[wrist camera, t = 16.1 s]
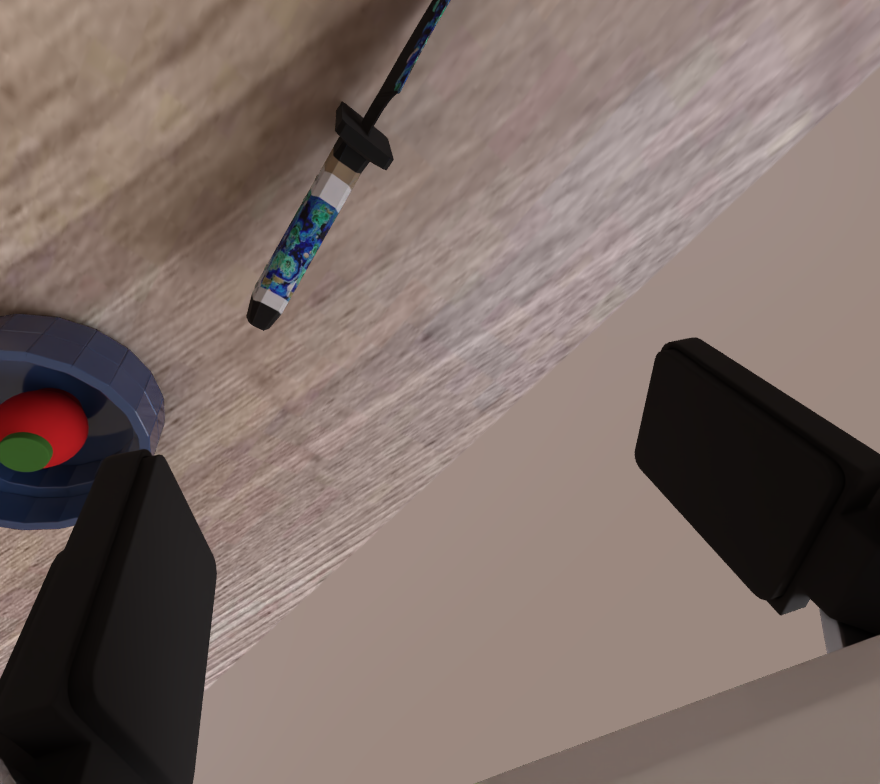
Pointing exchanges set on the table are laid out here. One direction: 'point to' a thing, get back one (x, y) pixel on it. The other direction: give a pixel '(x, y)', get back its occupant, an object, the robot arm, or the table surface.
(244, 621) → the table surface
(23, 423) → the strawberry
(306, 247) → the knife
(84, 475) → the bowl
